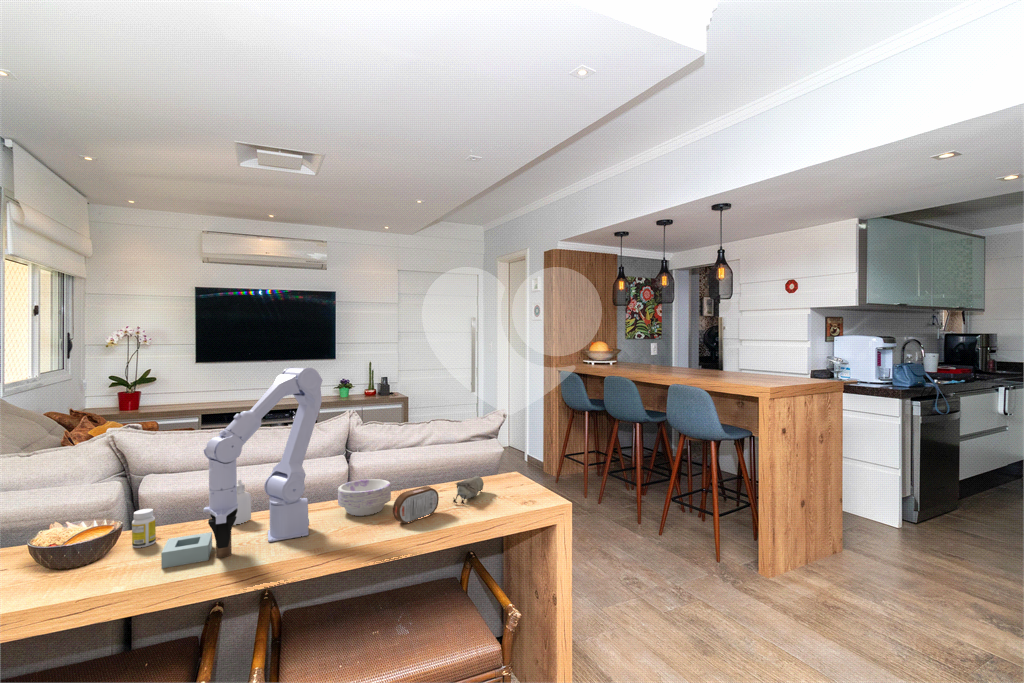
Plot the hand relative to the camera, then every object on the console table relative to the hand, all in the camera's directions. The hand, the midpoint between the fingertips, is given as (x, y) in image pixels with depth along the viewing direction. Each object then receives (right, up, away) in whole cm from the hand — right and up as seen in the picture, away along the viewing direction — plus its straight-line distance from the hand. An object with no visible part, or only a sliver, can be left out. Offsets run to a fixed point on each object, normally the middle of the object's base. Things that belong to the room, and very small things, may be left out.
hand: (223, 544), depth 118 cm
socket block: (-8, -3, -1) cm, 8 cm away
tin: (+42, -2, +23) cm, 48 cm away
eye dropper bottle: (-8, -3, +22) cm, 23 cm away
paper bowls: (+25, -3, +30) cm, 39 cm away
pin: (0, -2, 0) cm, 2 cm away
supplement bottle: (-24, -3, +7) cm, 25 cm away
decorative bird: (+55, -2, +41) cm, 69 cm away
